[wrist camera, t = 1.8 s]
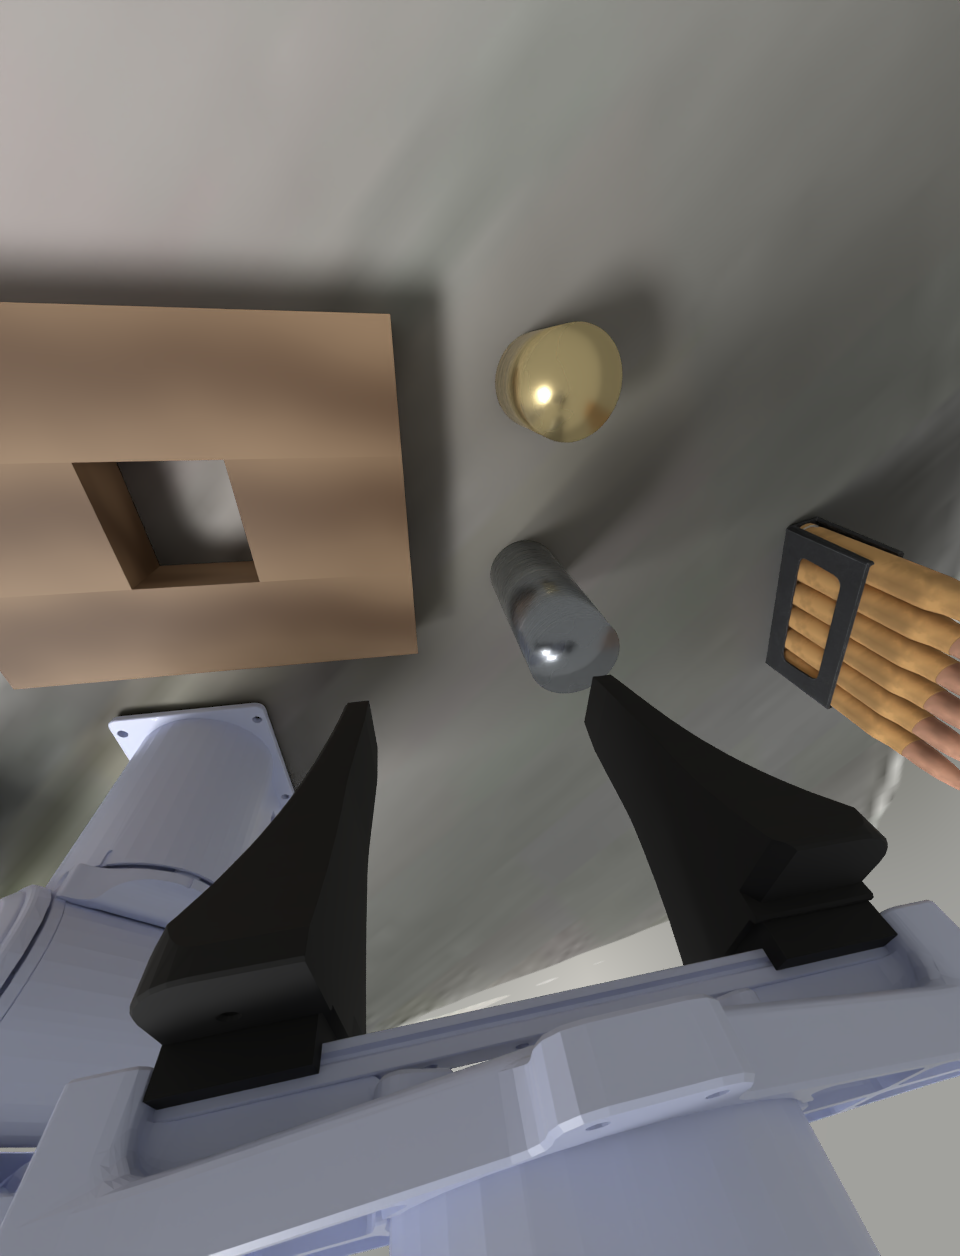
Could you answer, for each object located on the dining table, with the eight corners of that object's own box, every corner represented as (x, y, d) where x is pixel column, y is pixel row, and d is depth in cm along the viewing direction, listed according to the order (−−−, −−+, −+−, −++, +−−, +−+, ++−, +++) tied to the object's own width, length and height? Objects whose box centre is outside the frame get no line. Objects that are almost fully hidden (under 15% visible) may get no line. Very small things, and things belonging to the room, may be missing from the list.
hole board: (416, 628, 24) (417, 653, 22) (51, 657, 21) (13, 689, 19) (390, 320, 16) (390, 313, 14) (-178, 304, 14) (-282, 293, 11)
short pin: (570, 426, 19) (612, 441, 16) (494, 427, 19) (518, 443, 15) (580, 331, 18) (631, 323, 14) (496, 329, 17) (525, 319, 13)
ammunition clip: (786, 525, 24) (1061, 637, 14) (817, 515, 24) (1112, 620, 14) (765, 663, 30) (949, 811, 20) (790, 655, 30) (986, 799, 20)
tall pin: (550, 598, 24) (610, 688, 18) (489, 603, 24) (527, 697, 17) (557, 538, 22) (627, 613, 16) (491, 542, 22) (534, 621, 15)
